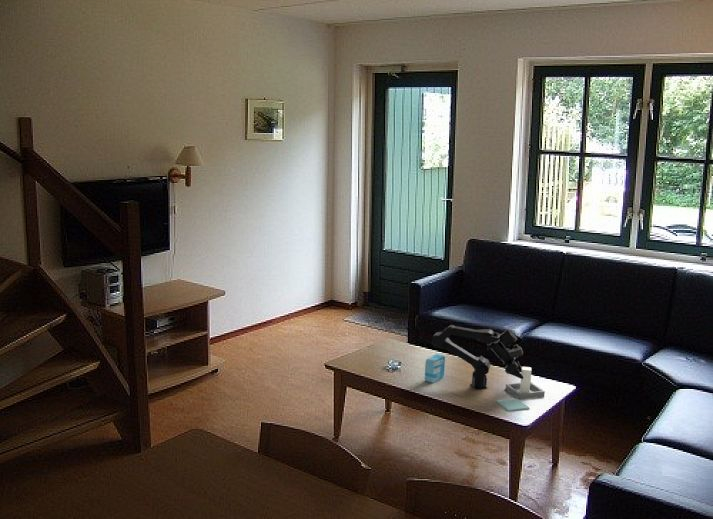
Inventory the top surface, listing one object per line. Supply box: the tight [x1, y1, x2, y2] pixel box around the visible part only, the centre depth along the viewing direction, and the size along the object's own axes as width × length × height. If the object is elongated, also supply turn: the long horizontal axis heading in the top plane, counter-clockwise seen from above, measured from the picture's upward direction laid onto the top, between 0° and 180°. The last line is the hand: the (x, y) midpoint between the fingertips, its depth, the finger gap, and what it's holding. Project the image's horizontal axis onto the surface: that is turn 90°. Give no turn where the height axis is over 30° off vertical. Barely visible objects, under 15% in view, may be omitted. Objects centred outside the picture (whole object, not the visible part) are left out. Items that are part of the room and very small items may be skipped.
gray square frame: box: [505, 381, 546, 400], centre depth 343 cm, size 14×13×2 cm
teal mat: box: [496, 398, 530, 412], centre depth 327 cm, size 11×11×1 cm
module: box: [519, 366, 532, 393], centre depth 342 cm, size 4×4×12 cm
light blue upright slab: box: [424, 354, 446, 384], centre depth 355 cm, size 12×4×12 cm, turn 142°
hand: (522, 375), depth 342 cm, fingers open, 9 cm apart
